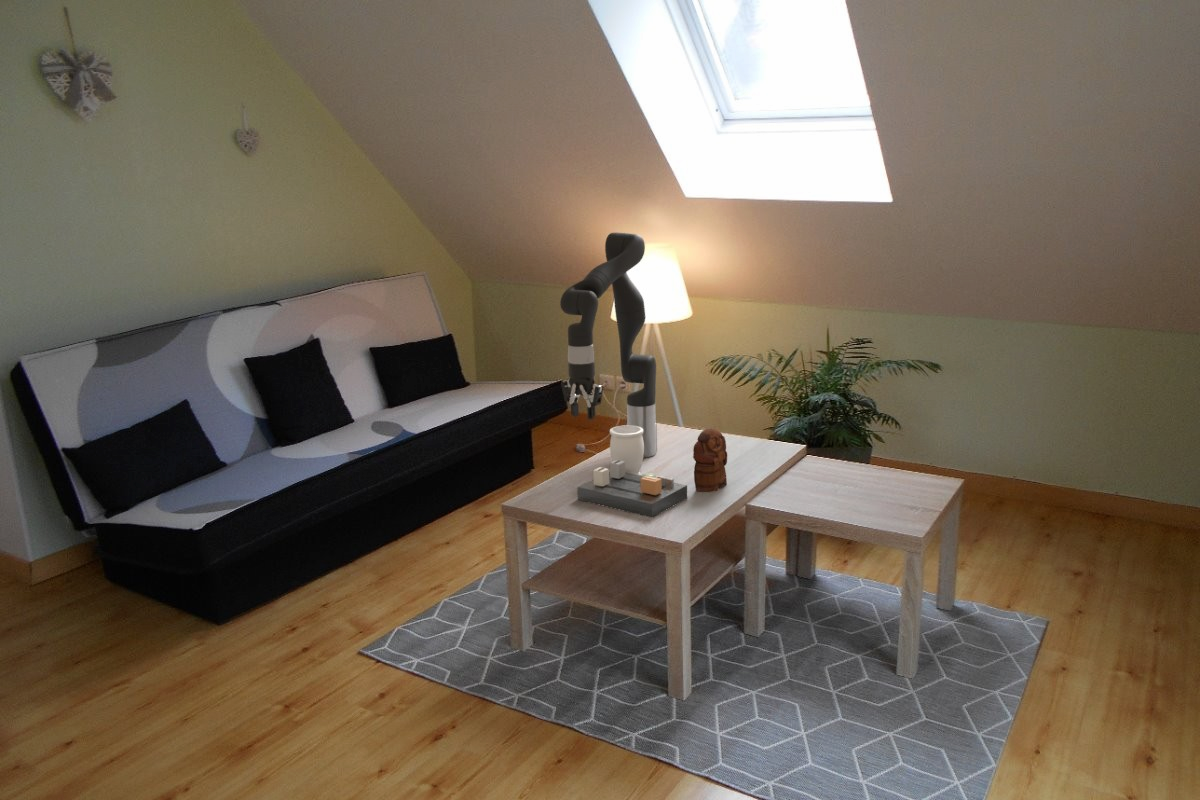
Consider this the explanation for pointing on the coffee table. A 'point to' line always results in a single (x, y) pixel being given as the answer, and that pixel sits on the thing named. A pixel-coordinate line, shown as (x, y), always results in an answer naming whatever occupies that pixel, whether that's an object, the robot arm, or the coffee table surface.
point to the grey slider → (617, 469)
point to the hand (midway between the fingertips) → (583, 417)
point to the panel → (633, 495)
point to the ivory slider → (601, 476)
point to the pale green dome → (649, 475)
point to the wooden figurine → (710, 461)
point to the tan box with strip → (651, 485)
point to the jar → (627, 447)
